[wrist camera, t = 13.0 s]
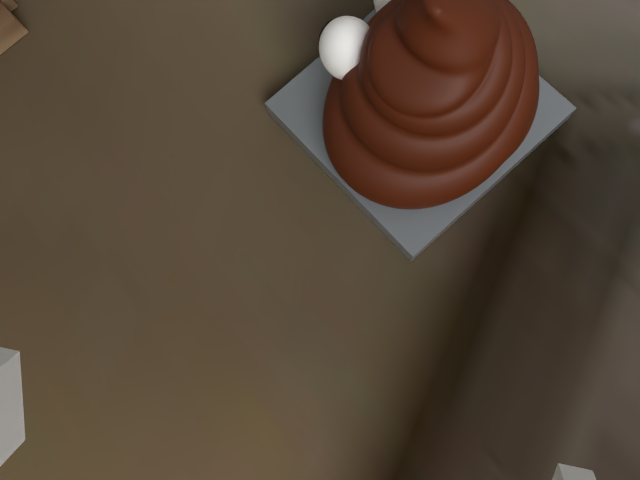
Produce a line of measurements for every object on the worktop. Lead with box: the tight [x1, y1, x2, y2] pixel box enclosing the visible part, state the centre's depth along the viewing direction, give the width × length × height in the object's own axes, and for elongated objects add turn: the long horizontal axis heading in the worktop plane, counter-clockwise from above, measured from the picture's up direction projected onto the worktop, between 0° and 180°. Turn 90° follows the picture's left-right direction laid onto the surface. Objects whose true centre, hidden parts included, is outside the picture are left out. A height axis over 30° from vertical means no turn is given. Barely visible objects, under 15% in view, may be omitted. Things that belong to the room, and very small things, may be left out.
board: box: [265, 9, 576, 262], centre depth 27 cm, size 10×10×1 cm
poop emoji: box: [319, 0, 540, 210], centre depth 21 cm, size 10×8×9 cm
